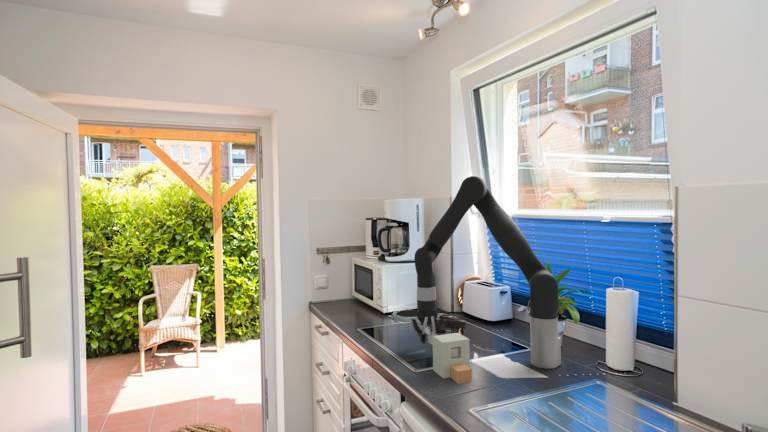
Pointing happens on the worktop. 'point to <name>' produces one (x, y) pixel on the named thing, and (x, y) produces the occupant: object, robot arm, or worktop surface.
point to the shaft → (429, 339)
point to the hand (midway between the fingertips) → (427, 342)
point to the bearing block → (449, 353)
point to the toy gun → (451, 323)
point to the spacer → (461, 373)
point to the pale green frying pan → (405, 315)
